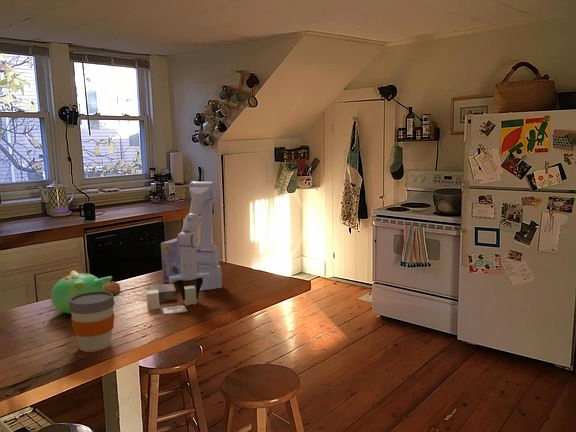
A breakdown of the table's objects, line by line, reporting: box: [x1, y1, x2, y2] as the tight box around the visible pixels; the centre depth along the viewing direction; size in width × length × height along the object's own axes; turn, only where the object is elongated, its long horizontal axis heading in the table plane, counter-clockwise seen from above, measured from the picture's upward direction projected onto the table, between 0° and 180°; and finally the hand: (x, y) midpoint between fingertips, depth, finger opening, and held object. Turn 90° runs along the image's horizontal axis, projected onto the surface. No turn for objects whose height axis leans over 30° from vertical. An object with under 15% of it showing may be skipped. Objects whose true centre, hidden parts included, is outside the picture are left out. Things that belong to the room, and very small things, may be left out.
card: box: [162, 305, 188, 315], centre depth 176 cm, size 8×6×1 cm
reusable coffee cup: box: [69, 291, 115, 353], centre depth 146 cm, size 13×13×15 cm
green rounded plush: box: [50, 270, 113, 315], centre depth 175 cm, size 18×17×15 cm
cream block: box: [146, 290, 161, 311], centre depth 179 cm, size 4×4×6 cm
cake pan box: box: [160, 237, 181, 284], centre depth 217 cm, size 19×5×18 cm, turn 158°
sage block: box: [183, 285, 198, 306], centre depth 184 cm, size 4×4×6 cm
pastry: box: [103, 280, 121, 295], centre depth 198 cm, size 9×7×4 cm
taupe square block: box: [147, 282, 177, 303], centre depth 191 cm, size 10×10×4 cm
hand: (190, 298), depth 184 cm, fingers open, 4 cm apart
